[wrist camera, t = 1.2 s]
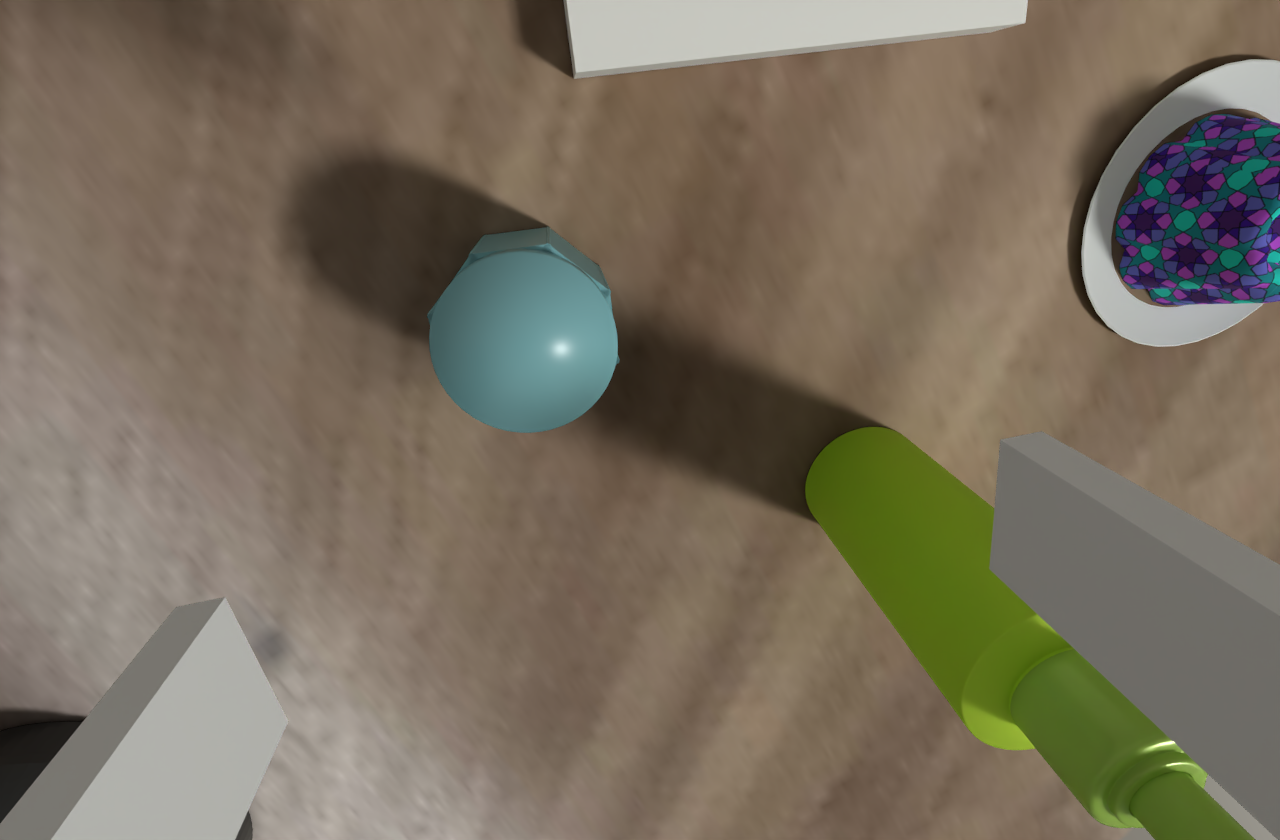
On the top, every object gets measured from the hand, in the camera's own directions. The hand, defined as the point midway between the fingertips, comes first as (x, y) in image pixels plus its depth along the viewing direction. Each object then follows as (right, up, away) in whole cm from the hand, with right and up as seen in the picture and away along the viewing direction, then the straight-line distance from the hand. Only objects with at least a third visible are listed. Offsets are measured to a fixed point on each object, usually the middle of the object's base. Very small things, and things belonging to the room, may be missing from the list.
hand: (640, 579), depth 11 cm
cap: (-4, +7, +15) cm, 17 cm away
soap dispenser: (+10, 0, +21) cm, 23 cm away
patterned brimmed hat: (+25, +12, +18) cm, 33 cm away
